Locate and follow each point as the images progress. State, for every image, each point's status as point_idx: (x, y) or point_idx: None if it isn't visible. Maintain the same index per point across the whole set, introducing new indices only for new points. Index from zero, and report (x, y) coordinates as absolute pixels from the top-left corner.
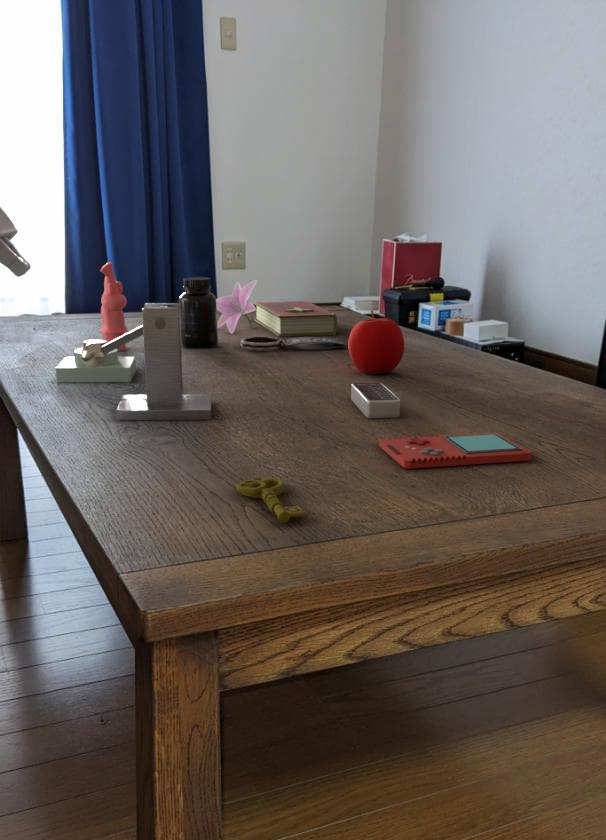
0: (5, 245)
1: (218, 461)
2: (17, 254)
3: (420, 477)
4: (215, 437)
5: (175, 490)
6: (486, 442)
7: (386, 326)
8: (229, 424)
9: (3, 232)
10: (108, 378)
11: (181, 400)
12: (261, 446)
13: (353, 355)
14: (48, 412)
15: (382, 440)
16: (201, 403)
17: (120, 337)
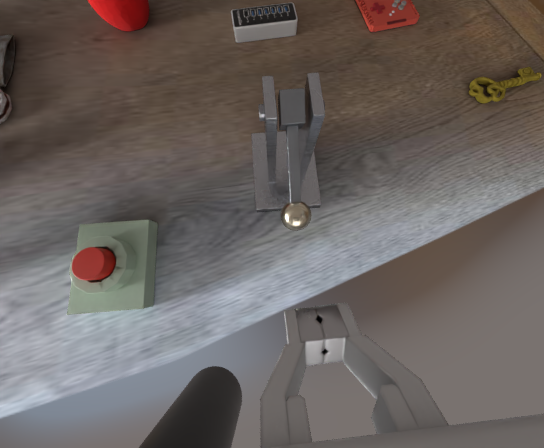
0: (416, 383)
1: (421, 120)
2: (301, 354)
3: (429, 18)
4: (361, 127)
5: (490, 139)
6: None
7: None
8: None
9: (385, 443)
10: (154, 245)
11: None
12: (380, 97)
13: (130, 18)
14: (293, 278)
15: (376, 25)
16: None
17: (299, 172)
